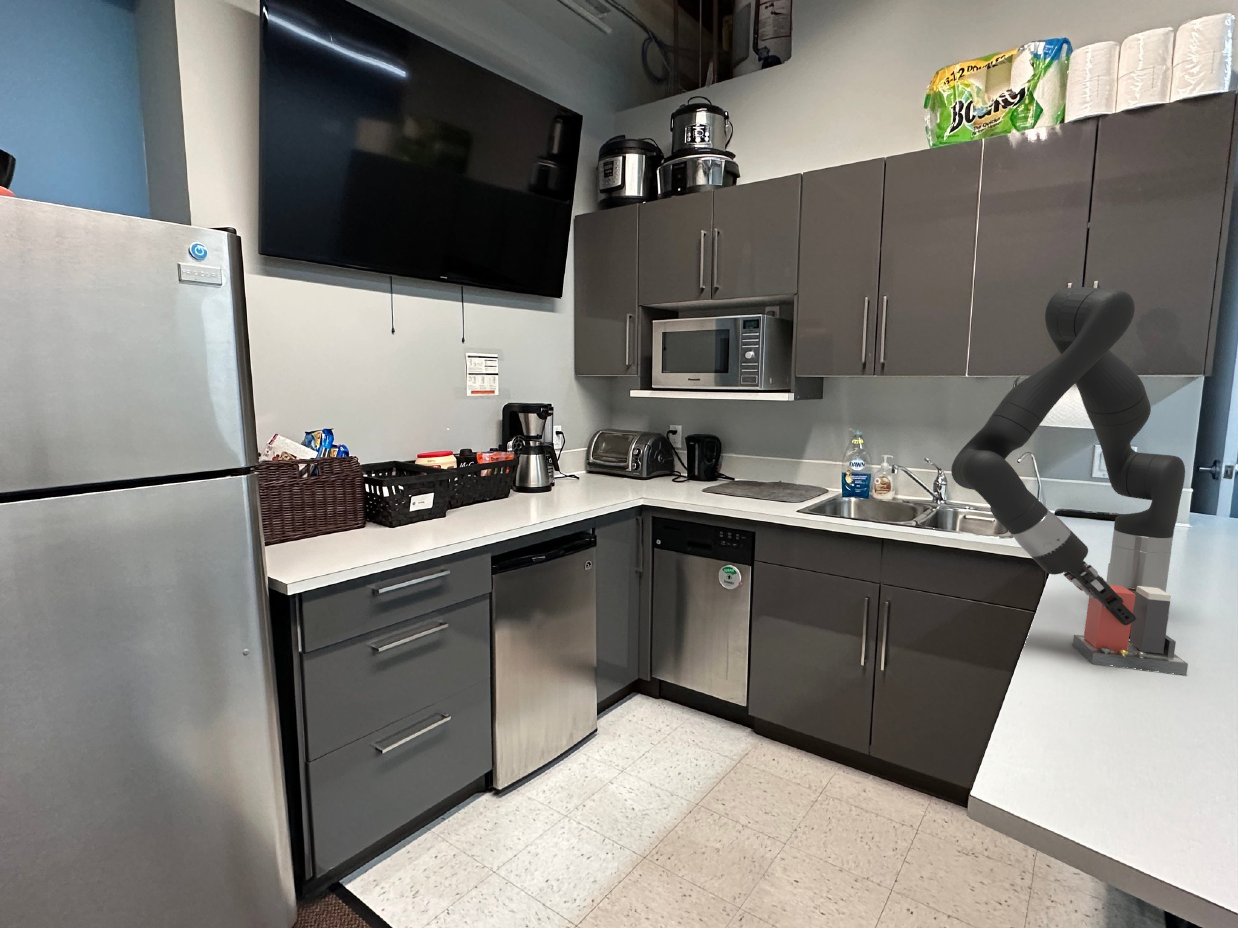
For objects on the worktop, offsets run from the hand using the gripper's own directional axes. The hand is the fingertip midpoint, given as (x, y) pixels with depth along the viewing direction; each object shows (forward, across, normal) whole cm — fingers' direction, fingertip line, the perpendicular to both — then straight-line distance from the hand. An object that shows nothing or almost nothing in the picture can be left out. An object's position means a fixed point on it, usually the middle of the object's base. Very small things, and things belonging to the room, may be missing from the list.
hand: (1121, 615), depth 105 cm
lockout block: (+2, 0, +5) cm, 6 cm away
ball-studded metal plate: (+6, 0, +4) cm, 8 cm away
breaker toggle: (+7, 0, +1) cm, 7 cm away
